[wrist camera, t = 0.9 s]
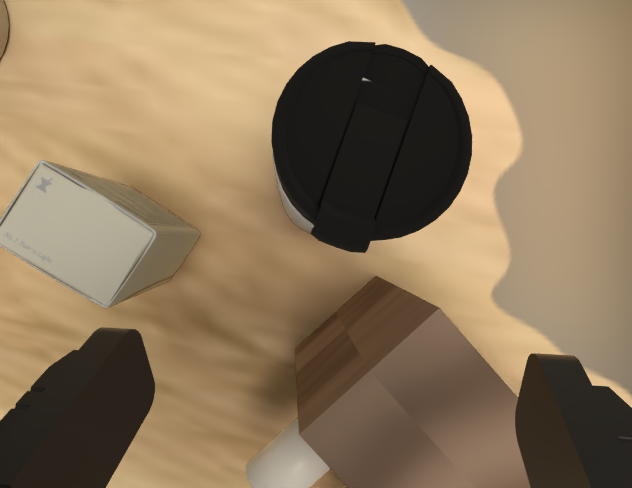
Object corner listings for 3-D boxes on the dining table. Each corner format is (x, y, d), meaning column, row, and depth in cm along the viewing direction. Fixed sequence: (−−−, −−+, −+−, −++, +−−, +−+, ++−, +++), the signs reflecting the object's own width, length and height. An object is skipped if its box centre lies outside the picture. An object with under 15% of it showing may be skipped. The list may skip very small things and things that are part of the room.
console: (294, 348, 33) (299, 434, 19) (376, 275, 33) (439, 307, 19) (470, 542, 34) (595, 756, 20) (548, 471, 35) (724, 633, 21)
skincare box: (96, 235, 32) (-21, 238, 20) (131, 183, 32) (35, 153, 20) (172, 283, 33) (103, 314, 20) (206, 231, 33) (158, 231, 20)
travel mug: (267, 223, 33) (233, 210, 13) (298, 136, 33) (312, -11, 13) (348, 252, 33) (437, 284, 13) (378, 167, 33) (515, 69, 13)
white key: (248, 451, 27) (242, 481, 24) (305, 400, 27) (307, 422, 24) (284, 490, 27) (283, 525, 24) (341, 439, 27) (348, 467, 24)
